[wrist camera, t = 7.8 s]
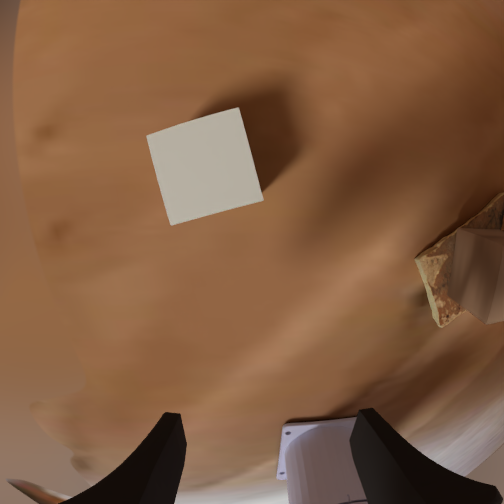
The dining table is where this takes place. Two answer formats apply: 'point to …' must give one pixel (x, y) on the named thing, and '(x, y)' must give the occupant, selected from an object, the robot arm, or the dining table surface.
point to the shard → (441, 259)
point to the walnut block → (479, 273)
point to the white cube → (204, 166)
